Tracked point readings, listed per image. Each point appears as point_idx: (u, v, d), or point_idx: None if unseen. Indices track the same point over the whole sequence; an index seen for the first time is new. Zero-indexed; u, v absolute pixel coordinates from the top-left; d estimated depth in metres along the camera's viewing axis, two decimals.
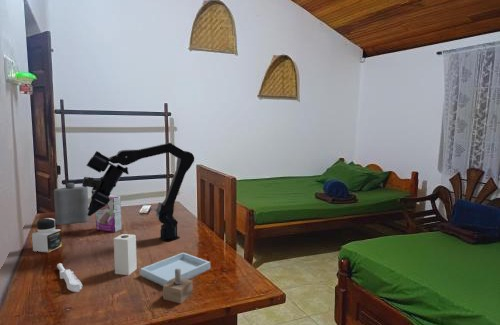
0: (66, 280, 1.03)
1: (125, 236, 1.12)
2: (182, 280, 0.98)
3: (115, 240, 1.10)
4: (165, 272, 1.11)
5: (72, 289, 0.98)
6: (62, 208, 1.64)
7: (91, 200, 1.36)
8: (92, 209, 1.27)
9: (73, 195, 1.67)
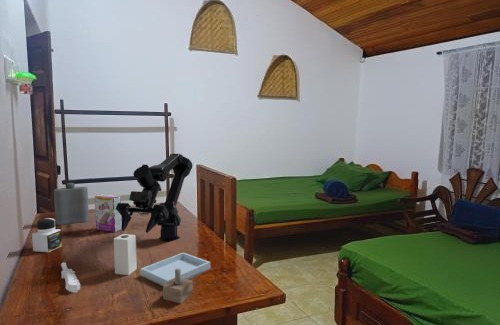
0: (66, 280, 1.03)
1: (125, 236, 1.12)
2: (182, 280, 0.98)
3: (115, 240, 1.10)
4: (165, 272, 1.11)
5: (70, 289, 0.98)
6: (62, 208, 1.64)
7: (124, 219, 1.20)
8: (151, 224, 1.18)
9: (73, 195, 1.67)
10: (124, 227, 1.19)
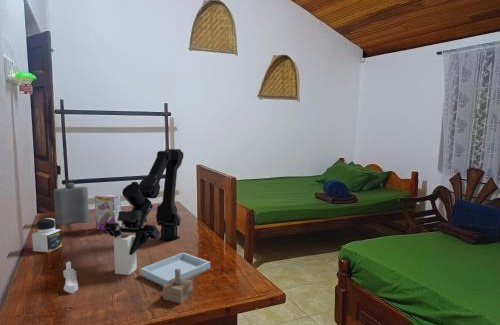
0: (66, 280, 1.03)
1: (125, 236, 1.12)
2: (182, 280, 0.98)
3: (115, 240, 1.10)
4: (165, 272, 1.11)
5: (67, 290, 0.98)
6: (62, 208, 1.64)
7: None
8: (136, 246, 1.12)
9: (73, 195, 1.67)
10: None
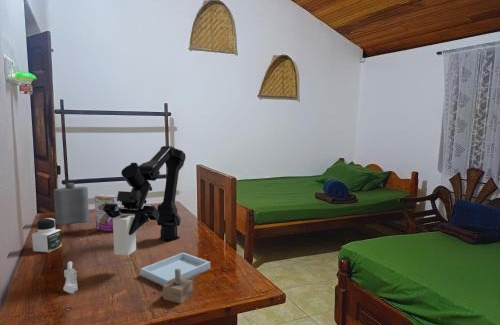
0: (66, 280, 1.03)
1: (124, 216, 1.11)
2: (182, 280, 0.98)
3: (114, 220, 1.09)
4: (165, 272, 1.11)
5: (66, 290, 0.98)
6: (62, 208, 1.64)
7: None
8: (135, 226, 1.11)
9: (73, 195, 1.67)
10: None
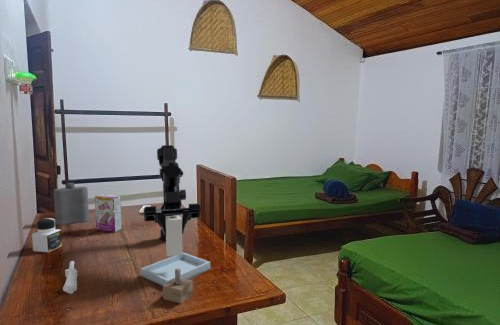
0: (66, 279, 1.03)
1: (174, 217, 1.10)
2: (182, 280, 0.98)
3: (168, 221, 1.07)
4: (165, 272, 1.11)
5: (65, 290, 0.97)
6: (62, 208, 1.64)
7: (164, 223, 1.10)
8: (184, 225, 1.12)
9: (73, 195, 1.67)
10: None
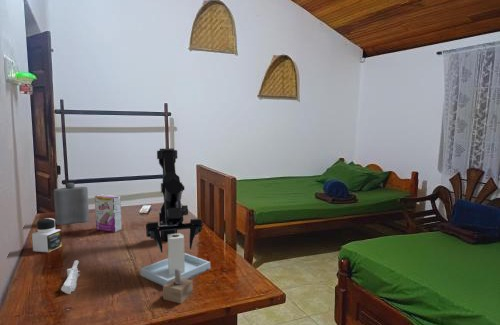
0: None
1: (176, 235, 1.11)
2: (182, 280, 0.98)
3: (170, 240, 1.08)
4: (165, 272, 1.11)
5: (63, 290, 0.97)
6: (62, 208, 1.64)
7: (160, 239, 1.10)
8: None
9: (73, 195, 1.67)
10: None
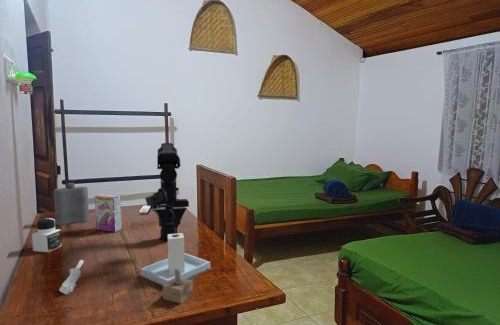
0: None
1: (176, 235, 1.11)
2: (182, 280, 0.98)
3: (170, 240, 1.08)
4: (165, 272, 1.11)
5: (61, 291, 0.97)
6: (62, 208, 1.64)
7: (160, 217, 1.26)
8: (176, 219, 1.19)
9: (73, 195, 1.67)
10: (163, 224, 1.26)
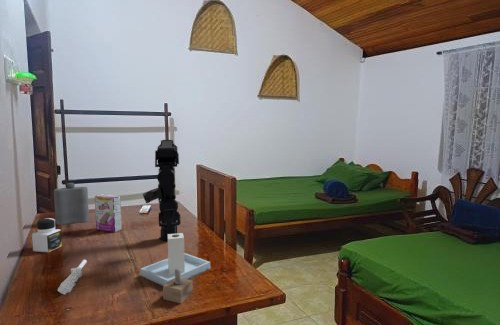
0: None
1: (176, 235, 1.11)
2: (182, 280, 0.98)
3: (170, 240, 1.08)
4: (165, 272, 1.11)
5: (59, 290, 0.97)
6: (62, 208, 1.64)
7: None
8: (168, 219, 1.19)
9: (73, 195, 1.67)
10: None
